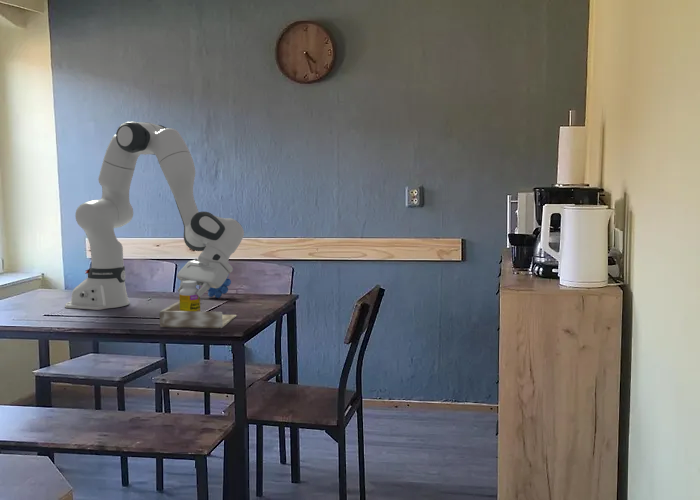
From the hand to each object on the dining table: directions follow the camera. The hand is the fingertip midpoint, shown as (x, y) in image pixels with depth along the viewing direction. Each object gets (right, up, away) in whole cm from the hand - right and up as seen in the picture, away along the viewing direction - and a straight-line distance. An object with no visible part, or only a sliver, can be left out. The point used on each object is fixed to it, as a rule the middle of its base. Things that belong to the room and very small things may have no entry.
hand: (188, 293), depth 236 cm
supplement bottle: (0, -9, +1) cm, 9 cm away
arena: (+3, -9, +3) cm, 10 cm away
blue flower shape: (+2, -4, +45) cm, 45 cm away
